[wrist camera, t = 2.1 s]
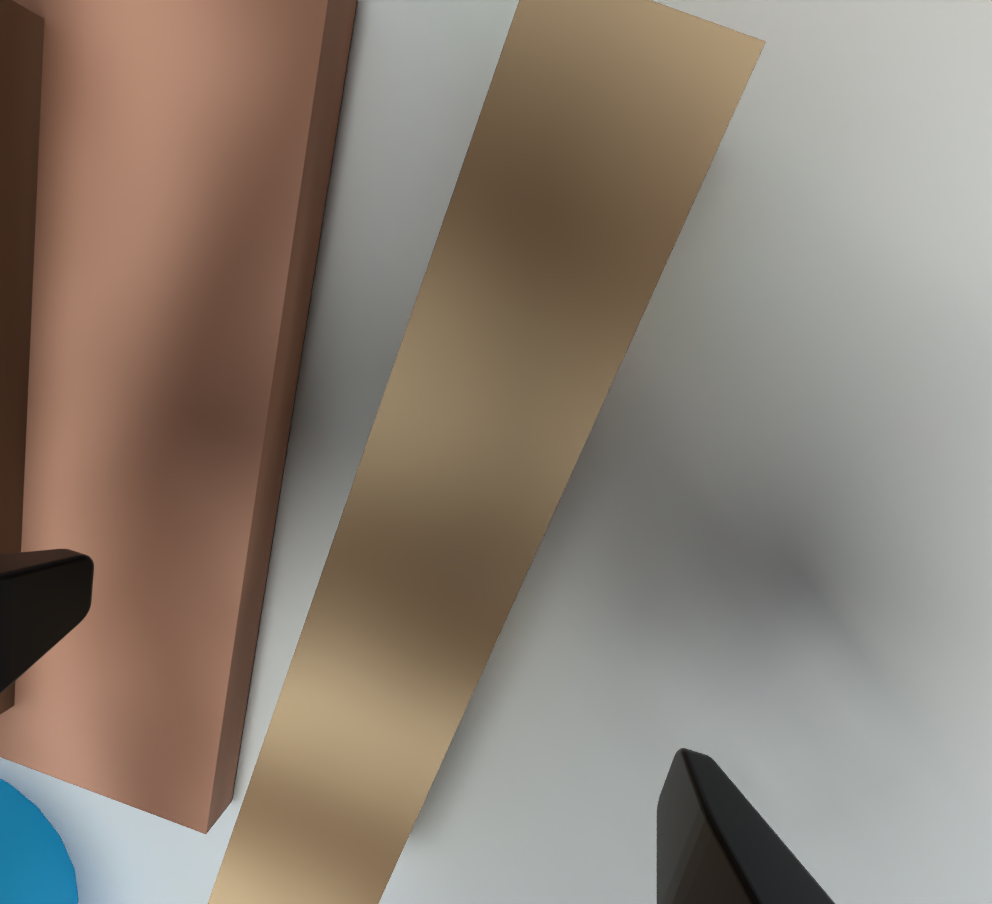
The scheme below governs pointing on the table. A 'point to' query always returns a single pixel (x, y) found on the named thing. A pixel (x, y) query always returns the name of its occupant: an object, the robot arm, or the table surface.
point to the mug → (31, 855)
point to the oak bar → (481, 425)
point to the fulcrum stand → (155, 361)
